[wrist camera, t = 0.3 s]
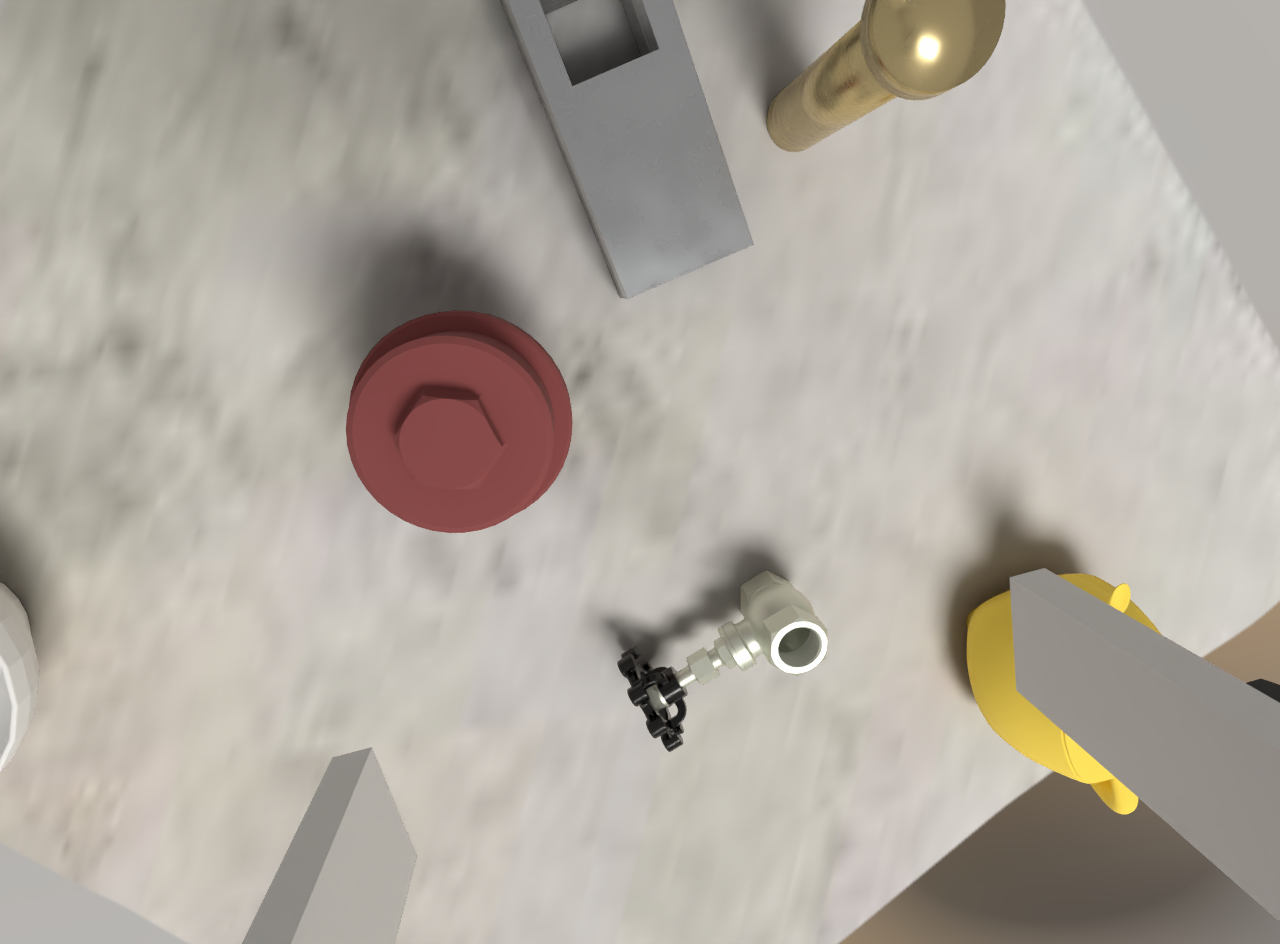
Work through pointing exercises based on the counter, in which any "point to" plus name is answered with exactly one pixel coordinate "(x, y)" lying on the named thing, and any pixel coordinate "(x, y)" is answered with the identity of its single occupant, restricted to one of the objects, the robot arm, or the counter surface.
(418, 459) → the mechanical component
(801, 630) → the valve
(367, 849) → the robot arm
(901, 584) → the counter surface
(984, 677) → the teapot
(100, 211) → the counter surface
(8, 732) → the bowl
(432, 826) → the counter surface
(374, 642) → the counter surface
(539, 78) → the plate with square socket
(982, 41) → the brass knob
